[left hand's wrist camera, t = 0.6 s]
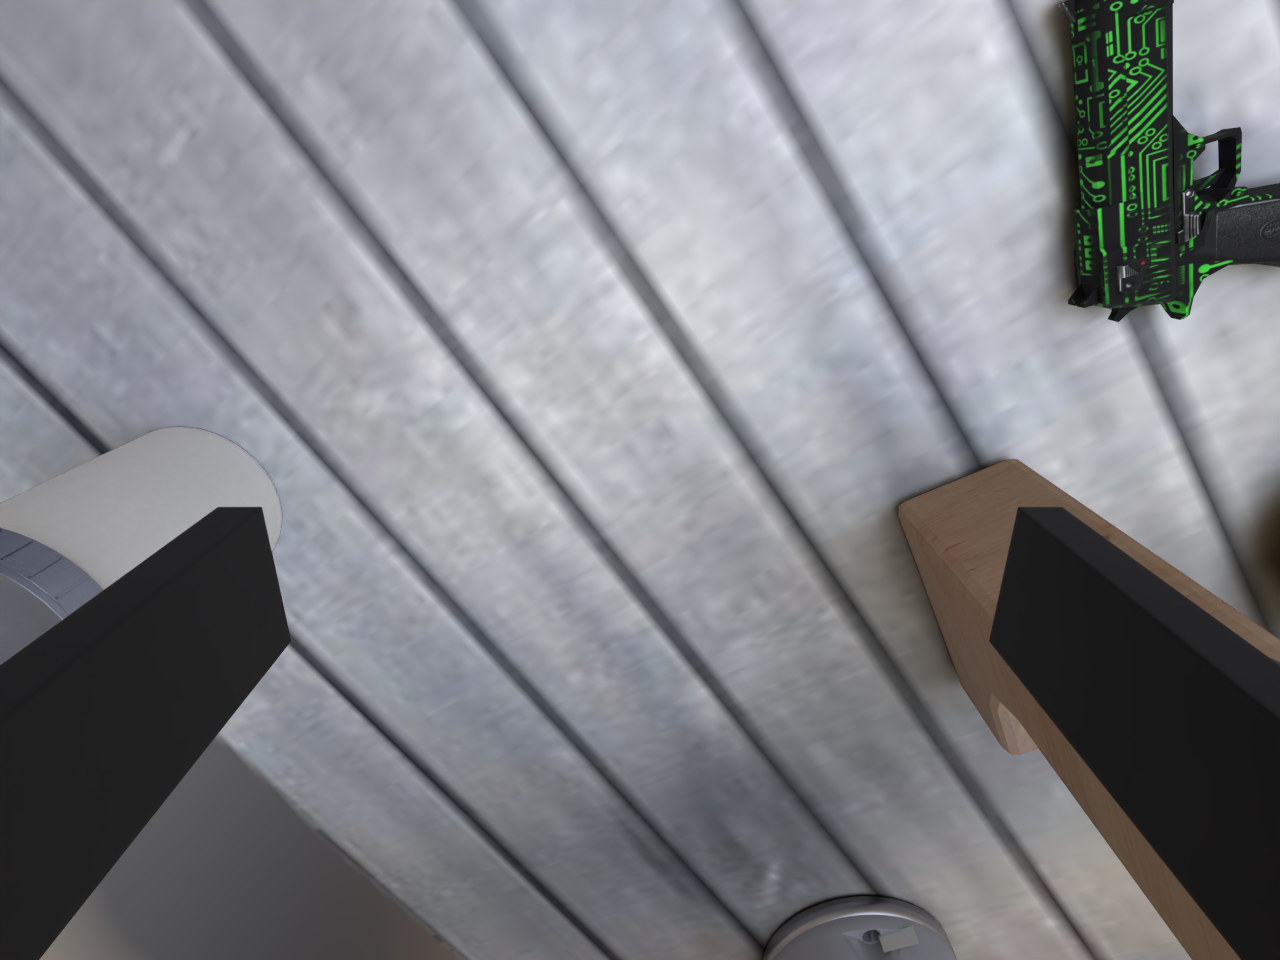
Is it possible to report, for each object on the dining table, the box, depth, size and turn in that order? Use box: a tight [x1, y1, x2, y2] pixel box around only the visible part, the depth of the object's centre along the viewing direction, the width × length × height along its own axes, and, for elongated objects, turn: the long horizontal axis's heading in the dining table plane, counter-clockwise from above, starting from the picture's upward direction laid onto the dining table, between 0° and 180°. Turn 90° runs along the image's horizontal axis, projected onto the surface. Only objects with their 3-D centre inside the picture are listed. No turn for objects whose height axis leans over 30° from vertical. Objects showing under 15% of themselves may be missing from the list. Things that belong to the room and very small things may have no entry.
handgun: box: [1059, 0, 1280, 322], centre depth 34 cm, size 16×3×15 cm
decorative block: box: [898, 459, 1280, 960], centre depth 30 cm, size 8×15×30 cm, turn 25°
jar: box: [0, 427, 282, 590], centre depth 35 cm, size 10×10×16 cm
